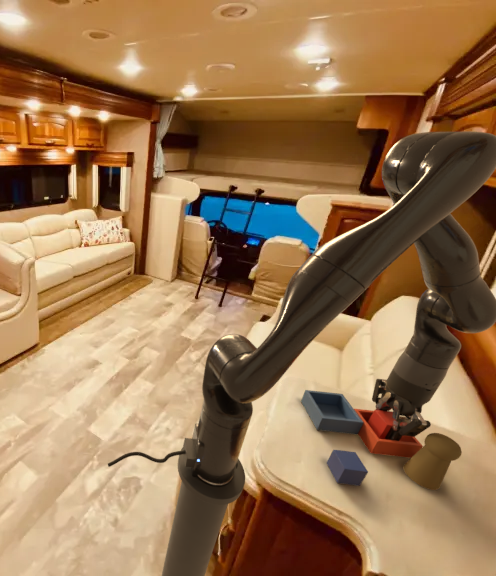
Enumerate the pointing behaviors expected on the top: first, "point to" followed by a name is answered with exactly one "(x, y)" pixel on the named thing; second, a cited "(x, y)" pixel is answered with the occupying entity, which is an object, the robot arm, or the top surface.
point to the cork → (432, 461)
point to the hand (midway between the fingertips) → (383, 430)
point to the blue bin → (331, 412)
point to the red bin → (382, 446)
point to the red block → (381, 422)
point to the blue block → (346, 467)
